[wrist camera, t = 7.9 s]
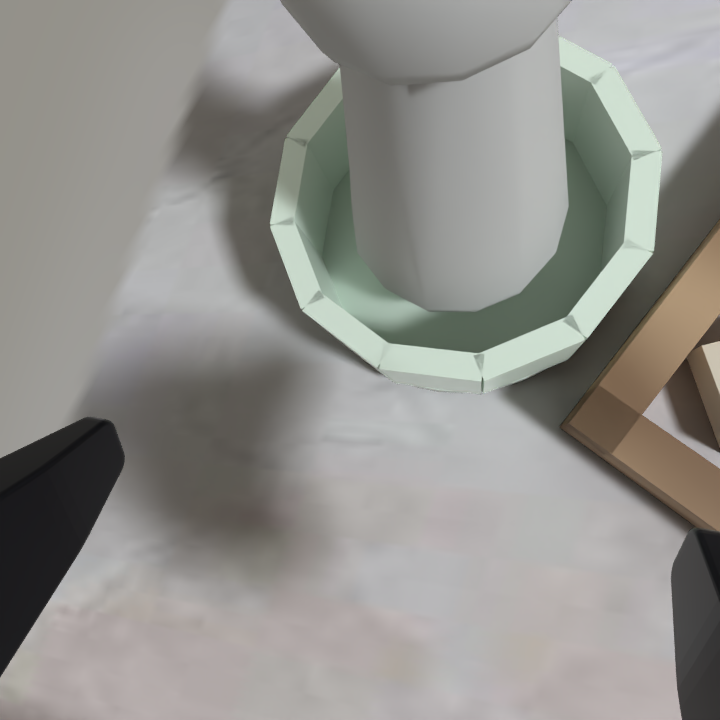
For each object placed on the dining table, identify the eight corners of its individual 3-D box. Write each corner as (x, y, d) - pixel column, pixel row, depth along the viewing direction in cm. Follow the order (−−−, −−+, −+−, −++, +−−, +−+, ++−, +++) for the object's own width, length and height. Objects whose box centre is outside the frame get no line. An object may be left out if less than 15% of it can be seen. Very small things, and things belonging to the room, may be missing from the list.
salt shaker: (361, 327, 18) (104, 46, 6) (374, 158, 19) (174, -404, 7) (554, 332, 17) (758, -9, 5) (558, 152, 18) (739, -551, 5)
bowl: (491, 458, 18) (494, 458, 14) (256, 277, 20) (206, 237, 17) (690, 201, 18) (745, 133, 14) (431, 52, 20) (420, -37, 17)
